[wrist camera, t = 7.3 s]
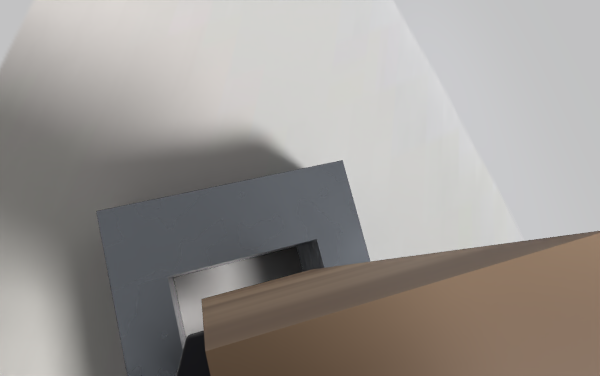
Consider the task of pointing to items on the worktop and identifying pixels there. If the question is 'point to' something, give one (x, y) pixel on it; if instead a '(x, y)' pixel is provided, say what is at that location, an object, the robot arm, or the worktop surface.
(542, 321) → the walnut peg
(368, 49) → the worktop surface
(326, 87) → the worktop surface
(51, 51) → the worktop surface
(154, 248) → the block
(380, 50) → the worktop surface
